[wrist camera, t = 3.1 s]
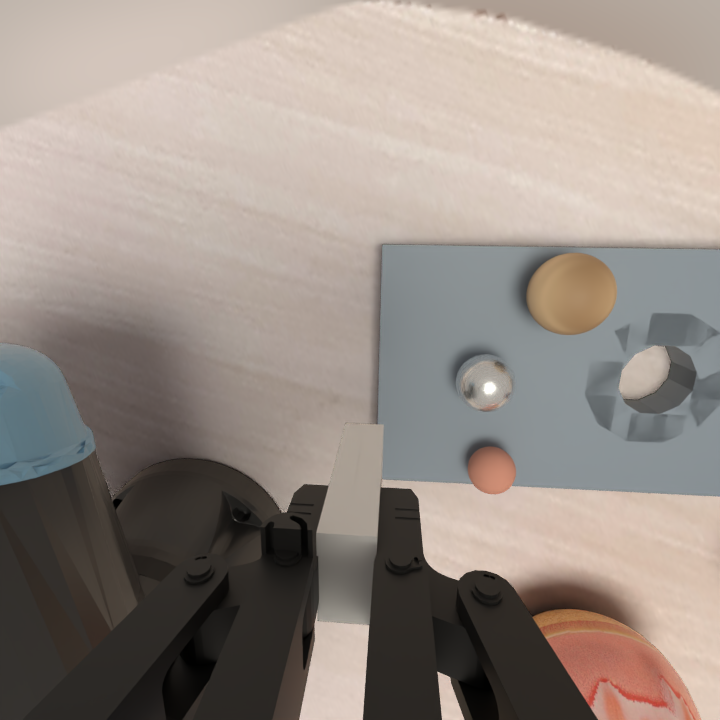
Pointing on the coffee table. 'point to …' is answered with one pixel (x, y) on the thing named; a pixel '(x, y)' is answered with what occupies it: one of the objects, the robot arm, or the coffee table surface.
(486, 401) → the steel ball
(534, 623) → the robot arm
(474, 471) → the rubber ball
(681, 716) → the vase
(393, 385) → the plate
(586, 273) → the wooden ball
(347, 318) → the coffee table surface
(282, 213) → the coffee table surface
